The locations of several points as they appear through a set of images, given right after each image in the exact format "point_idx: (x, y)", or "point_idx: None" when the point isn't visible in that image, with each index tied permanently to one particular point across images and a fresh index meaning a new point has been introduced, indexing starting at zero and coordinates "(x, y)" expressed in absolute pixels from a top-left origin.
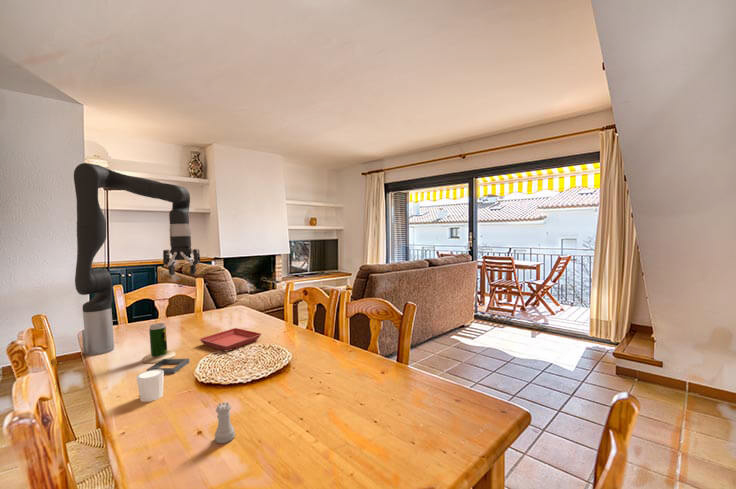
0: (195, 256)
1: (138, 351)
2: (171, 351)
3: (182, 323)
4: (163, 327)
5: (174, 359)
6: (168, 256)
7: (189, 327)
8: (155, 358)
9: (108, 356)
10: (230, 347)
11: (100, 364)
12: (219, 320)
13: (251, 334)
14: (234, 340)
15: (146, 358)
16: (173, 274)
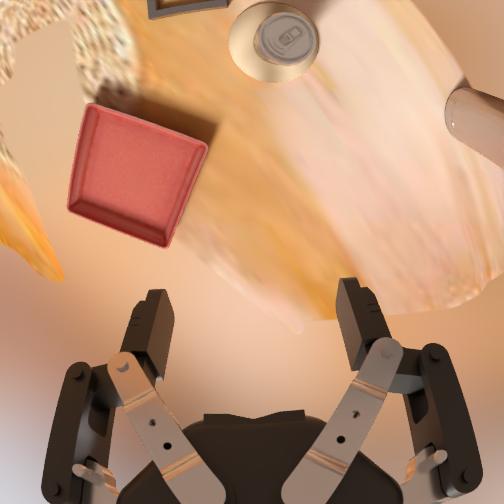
0: (62, 429)
1: (375, 96)
2: (261, 78)
3: None
4: (256, 35)
5: (189, 5)
6: (421, 438)
7: None
8: None
9: (427, 70)
10: (90, 117)
11: (406, 14)
12: (289, 329)
13: (101, 217)
14: (129, 183)
15: None
16: (337, 295)
